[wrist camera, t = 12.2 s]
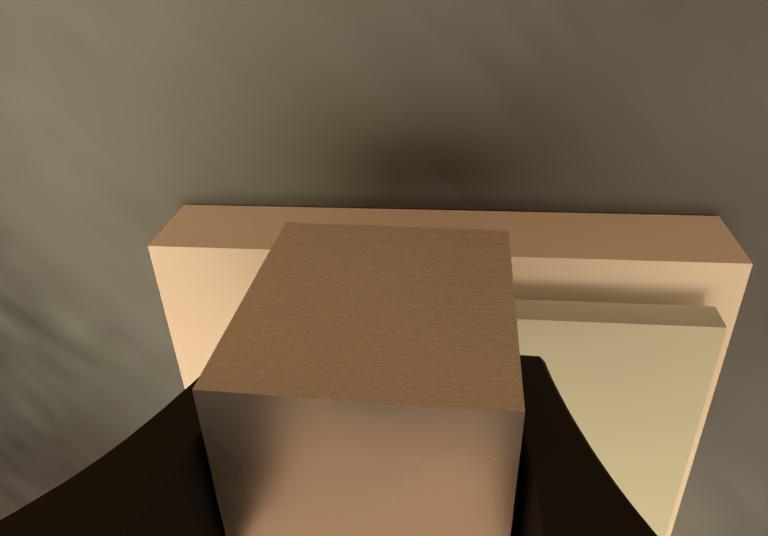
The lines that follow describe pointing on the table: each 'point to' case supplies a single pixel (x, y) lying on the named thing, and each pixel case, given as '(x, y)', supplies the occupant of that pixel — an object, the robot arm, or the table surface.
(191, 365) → the scale housing
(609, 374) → the pan
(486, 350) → the tan brown block
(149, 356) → the table surface
